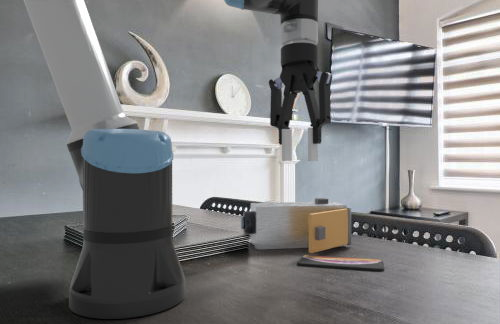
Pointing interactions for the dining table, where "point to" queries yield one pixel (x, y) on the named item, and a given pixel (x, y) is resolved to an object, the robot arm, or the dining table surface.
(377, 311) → the dining table surface
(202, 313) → the dining table surface
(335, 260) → the smartphone
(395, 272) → the dining table surface
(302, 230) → the silver box with door
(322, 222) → the side door
